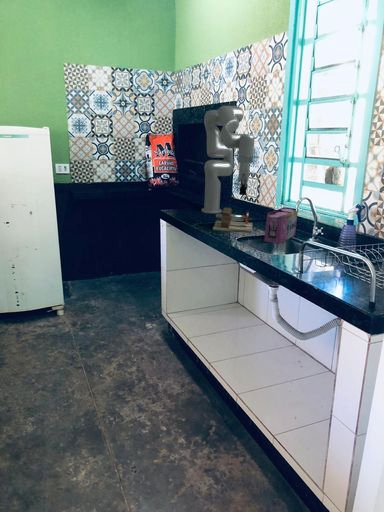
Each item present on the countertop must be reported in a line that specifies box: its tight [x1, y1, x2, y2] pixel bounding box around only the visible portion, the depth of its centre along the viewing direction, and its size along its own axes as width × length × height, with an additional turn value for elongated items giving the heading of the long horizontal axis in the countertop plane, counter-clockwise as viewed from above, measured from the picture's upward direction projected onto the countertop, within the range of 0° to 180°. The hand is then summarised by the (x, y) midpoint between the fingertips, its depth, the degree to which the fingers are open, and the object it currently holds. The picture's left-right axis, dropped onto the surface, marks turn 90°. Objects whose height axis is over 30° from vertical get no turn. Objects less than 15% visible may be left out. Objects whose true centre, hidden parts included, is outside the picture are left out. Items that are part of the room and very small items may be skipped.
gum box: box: [263, 206, 299, 245], centre depth 198 cm, size 24×8×14 cm, turn 148°
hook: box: [215, 211, 253, 224], centre depth 217 cm, size 6×19×6 cm, turn 81°
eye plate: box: [212, 207, 253, 234], centre depth 217 cm, size 18×20×9 cm
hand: (242, 193), depth 212 cm, fingers open, 9 cm apart
